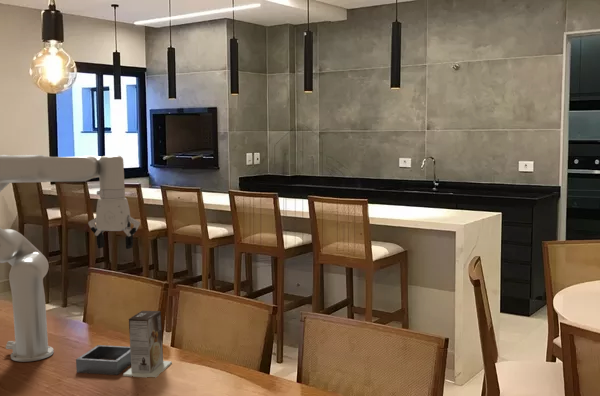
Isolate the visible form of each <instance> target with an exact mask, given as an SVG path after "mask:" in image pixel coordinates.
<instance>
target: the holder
mask: <svg viewBox="0 0 600 396" xmlns="http://www.w3.org/2000/svg"><path fill="white" fill-rule="evenodd" d="M75 362H76V363H75V364H76V365H75V369H76V373H79V374H80V373H81V374H92V375H93V374H95V375H97V374H99V375H112V376H118V375H120V374H121V373H122V372H123V371H125V370H126V369H127V368H128V367H131V352H130V346H127V345H125V346H123V345H121V346H120V345H104V344H103V345H101V344H97V345H95V346H94V347H92V348H91V349H90V350H88V351H87V352H85V353H83V354H82V355H80V356H79V357H77V358H76V359H75Z"/></svg>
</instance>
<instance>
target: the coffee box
mask: <svg viewBox="0 0 600 396" xmlns="http://www.w3.org/2000/svg"><path fill="white" fill-rule="evenodd" d="M162 326H163V325H162V311H161V310H141V311H139V312H137V313H136V314H134V315H133V316H131V317H129V318H128V328H129V329H128V330H129V331H128V333H129V347H130V352H131V365H130V368H131V371H132V372H139V373H152V372H153V371H154V370H155V369H156V368H157V367H158V366H160V365H161V364H162V363H163V361H164V351H163V350H164V348H163V347H164V346H163V331H162V329H163V327H162Z"/></svg>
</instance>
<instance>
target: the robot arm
mask: <svg viewBox="0 0 600 396" xmlns="http://www.w3.org/2000/svg"><path fill="white" fill-rule="evenodd" d="M124 163H125V162H124V158H123V157H122V155H103V156H99V155H98V156H96V155H82V156H48V155H43V154H17V155H15V154H14V155H13V154H10V155H9V154H0V193H1V192H2V191H3V190H4V189H5V188H6V187H7V186H8V185H9V184H10V183H11V184H14V183H16V184H17V183H47V182H52V183H53V182H61V183H63V182H86V181H90V180H91V179H96V178H99V190H97V191H96V196H99V199H97V203H96V211H95V212H96V213H95V217H94V218H93V219H91V220H89V221H87V222H88V226H89V228H90V230H91V231H92V232H93V234H94V236H96V246H97V249H102V248H104V247H105V235H104V234H103V233H104V232H105V231H106V232H108V231H109V232H122V231H123V232H124V233H125V235H126V236H125V248H126V249H127V250H129V249H132V248H133V246H134V237H133V236H134V235H135V233H136V232H137V231H138V229H139V227H140V225H141V222H140V221H139V220H137V219H135V218H134V217H132V216H131V211H130V210H131V209H130V205H129V202H128V199H127V198H126V192H125V191H126V190H125V187H126V186H125V170H124V169H125V167H124V165H125V164H124ZM132 224H133V227H132V228H131V225H132ZM4 263H8V264H9V265H10V266H11V267H10V270H9V274H8V278H9V279H8V281H9V286H10V292H11V299H12V311H13V312H12V313H13V325H14V329H13V330H14V340H8V341H7V342H6V344H5V349H6V350H12V352H11V354H10V359H11V360H12V361H15V362H19V363H22V362H23V363H26V362H27V363H28V362H34V361H40V360H44V359H46V358H50V357H51V356H52V355H53V354H54V353H55V352H54V350H55V349H54V348H53V347H52V346H49V339H48V324H47V308H46V307H47V306H46V294H45V287H44V278H45V276H47V274H48V271H49V267H50V266H49V264H50V263H49V261H48V259H47V258H46V256H45V255H44V254H43V253H42V252H41V251H40V250H39V249H38V248H37V247H36V246H35V245H34V244H32V242H31V241H30V240H28V239H27V237H25V236H24V235H23V234H22V233H21V232H18V231H17V230H15V229H11V228H4V229H3V228H2V227H1V226H0V264H4Z"/></svg>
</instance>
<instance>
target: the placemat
mask: <svg viewBox="0 0 600 396" xmlns="http://www.w3.org/2000/svg"><path fill="white" fill-rule="evenodd" d="M172 363H173V362H172V361H171V360H163V363H162V364H161V365H160V366H158V367H157V368H156V369H155V370H154V371H153V372H152V373H139V372H132V371H131V367H130V368H128V369H127V370H126V371H125V372H123V374H122V377H132V376H133V377H134V378H147V377H155V378H154V379H156V378H157V377H159V374H160V373H161V372H162V373H163V372H164V371H165V370H166V369H167V368H168V367H170V366H171V365H172ZM162 373H161V374H162ZM161 374H160V375H161Z"/></svg>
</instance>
